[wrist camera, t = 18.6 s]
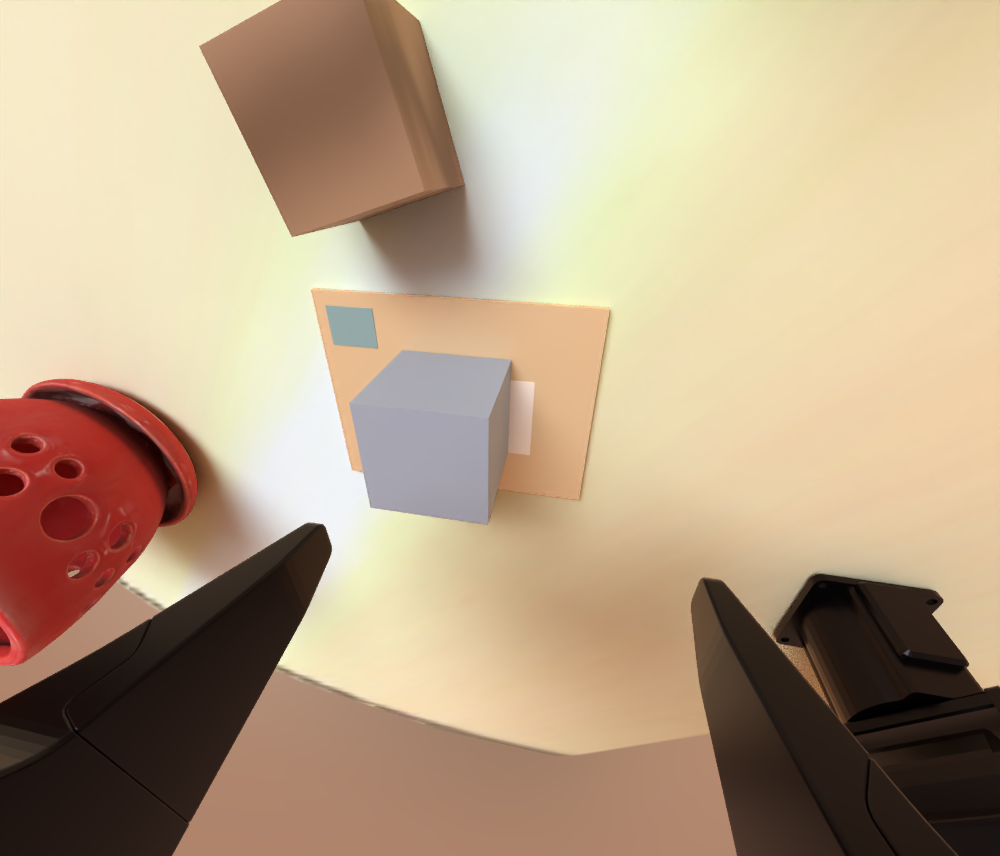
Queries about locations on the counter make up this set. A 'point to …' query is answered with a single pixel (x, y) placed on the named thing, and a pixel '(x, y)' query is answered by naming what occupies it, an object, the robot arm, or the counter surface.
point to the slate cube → (435, 434)
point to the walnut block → (337, 108)
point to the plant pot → (78, 503)
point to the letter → (490, 334)
